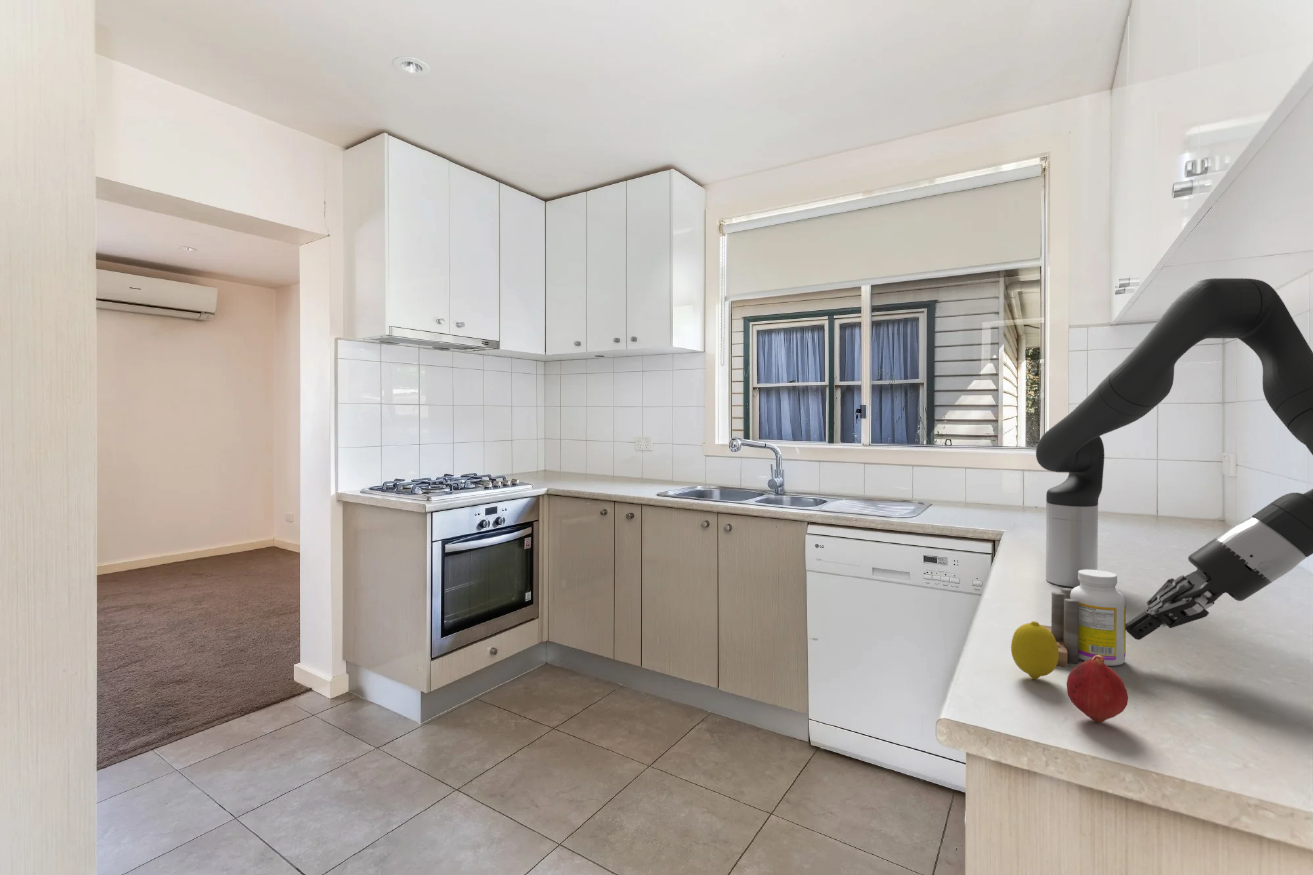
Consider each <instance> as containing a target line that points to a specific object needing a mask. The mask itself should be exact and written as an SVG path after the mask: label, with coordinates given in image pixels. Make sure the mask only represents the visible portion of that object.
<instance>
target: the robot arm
mask: <svg viewBox="0 0 1313 875" xmlns="http://www.w3.org/2000/svg"><path fill="white" fill-rule="evenodd" d="M1206 339H1238V340H1239V341H1241V342H1242V343H1244V344H1245V345H1246V346H1248V347H1249V349H1251V350H1252V351H1253V352H1254V353H1255V354H1256V356H1257V357H1258V359H1259V360H1260V362H1261V366H1262V392H1263V395H1264V398H1265V400H1266V402H1267V404H1268V406H1269V407H1270V408H1271V410H1272V411H1273V412H1274V414H1275V415H1276V416H1277V417H1278V419H1279V420H1280V421H1281V422H1282V424H1283V425H1284V426H1285V427H1286V428H1287V430H1288V431H1289V432H1290V434H1291V435H1292V436H1293V437H1295V439H1296V440H1297V441H1298V442H1300V443H1301V444H1303V445H1305V447H1306V448H1307V449H1308V451H1309V452H1310V454H1311V455H1312V456H1313V350H1312V349H1311V347H1310V345H1309V343H1308V342H1307V340H1306V339H1305V337H1304V335H1303V333H1302V332H1301V330H1300V328H1299V327H1298V325H1297V324H1296V322H1295V320H1294V319H1293V317H1292V314H1291V313H1290V311H1289V310H1288V308H1287V306H1286V304H1285V302H1284V301H1283V299H1282V298H1281V297H1280V295H1279V294H1278V292H1277V291H1276V290H1275V289H1274V288H1273V287H1272V286H1271V285H1270V284H1269V283H1268V282H1266V281H1264V280H1261V279H1256V278H1248V277H1247V278H1244V277H1243V278H1242V277H1241V278H1240V277H1239V278H1238V277H1235V278H1234V277H1233V278H1231V277H1230V278H1229V277H1228V278H1227V277H1226V278H1225V277H1223V278H1221V277H1220V278H1217V277H1216V278H1215V277H1214V278H1213V277H1212V278H1206V279H1202V280H1201V279H1200V280H1198V281H1196V282H1193V283H1191V284H1190V285H1188V286H1187V287H1186V288H1184V290H1183V291H1181V292H1180V294H1178V296H1177V297H1175V299H1174V301H1173V302H1172V303H1171V304H1170V305H1169V307H1168V308H1167V309H1166V310H1165V312H1164V313H1163V314H1162V316H1161V317H1160V318H1159V319H1158V321H1157V322H1156V323H1155V324H1154V326H1153V327H1152V328H1151V330H1150V331H1149V332H1148V333H1147V335H1145V337H1144V338H1143V339H1142V340H1141V341H1140V342H1139V343H1138V345H1136V347H1135V348H1133V350H1132V351H1131V352H1130V353H1129V354H1128V355H1127V356H1126V357H1125V359H1124V360H1122V361H1121V363H1119V364H1118V365H1116V367H1115V368H1114V369H1113V370H1111V372H1110V373H1109V374H1108V375H1107V376H1106V377H1105V378H1104V379H1103V380H1102V381H1101V382H1100V383H1099V384H1098V385H1097V386H1096V388H1094V390H1093V391H1092V392H1091V393H1089V395H1087V397H1086V398H1084V399H1083V400H1082V401H1081V402H1080V403H1079V404H1078V405H1077V406H1076V407H1075V408H1074V409H1072V411H1071V412H1069V414H1067V415H1066V416H1064V417H1063V418H1062V419H1061V420H1060V421H1058V422H1057V423H1056V424H1054V425H1053V426H1052V427H1051V428H1050V429H1048V430H1047V431H1046V432H1045V433H1044V434H1043V435H1042V436H1041V438H1040V439H1039V441H1038V444H1037V445H1036V450H1035V458H1036V461H1037V463H1038V465H1039V466H1040V467H1042V468H1043V469H1044V470H1047V471H1049V472H1054V473H1068V476H1067V478H1065V479H1064V481H1063V482H1062V483H1060V484H1057V485H1056V486H1053V487H1050V488H1049V489H1047V491H1046V497H1045V499H1046V500H1045V502H1046V504H1045V506H1046V508H1045V510H1046V514H1045V515H1046V516H1045V518H1046V519H1045V520H1046V522H1045V526H1046V527H1045V580H1046V582H1048V583H1051V584H1054V585H1057V586H1063V587H1067V588H1075V587H1077V586H1080V582H1079V579H1078V571H1079V570H1098V560H1099V558H1098V557H1099V556H1098V555H1099V554H1098V553H1099V552H1098V550H1099V549H1098V548H1099V544H1098V543H1099V498H1100V497H1101V496H1100V495H1101V493H1102V489H1103V481H1104V470H1105V469H1104V466H1105V445H1104V442H1103V439H1102V438H1101V436H1104V435H1105V434H1108V433H1111V432H1113V431H1116V430H1118V429H1121V428H1123V427H1125V426H1129V425H1131V424H1132V423H1134V422H1136V421H1138V420H1140V419H1141V418H1143V417H1145V415H1147V414H1148V413H1150V412H1151V411H1152V410H1153V409H1154V408H1155V407H1156V406H1158V405H1159V404H1160V403H1161V402H1162V401H1163V400H1164V399H1165V398H1167V397H1168V395H1169V394H1170V392H1171V390H1172V387H1173V385H1174V377H1175V367H1176V366H1175V365H1176V363H1177V362H1178V361H1179V359H1180V358H1181V357H1182V356H1183V355H1185V353H1187V352H1188V351H1189V350H1190V349H1191V348H1192V347H1194V346H1196V345H1197V344H1198V343H1199V342H1202V341H1204V340H1206ZM1312 555H1313V488H1312V489H1310V490H1309V491H1306V492H1304V493H1302V492H1289V493H1287V494H1284V495H1281V496H1280V497H1278V498H1277V499H1275V500H1273V501H1272V502H1271V503H1269V504H1267V505H1266V506H1264V507H1263V508H1261V509H1260V510H1258V511H1257V512H1256V513H1254V514H1253V515H1252V516H1249V517H1248V518H1246V519H1244V520H1242V521H1239V523H1236V524H1234V525H1233V526H1231V527H1230V528H1227V529H1226V530H1225V531H1224V532H1222V533H1220V534H1219V535H1218V536H1216V537H1215V538H1213V539H1211V540H1210V541H1208V542H1207V543H1206V544H1205V545H1202V546H1201V547H1200V548H1199V549H1197V550H1196V551H1194V552H1193V553H1192V554H1189V556H1187V559H1188V561H1189V563H1191V565H1193V566H1194V567H1195V568H1196V570H1195V571H1193V572H1191V573H1188V574H1187V575H1180V576H1178V577H1176V578H1175V579H1174V578H1169V579H1167V580H1166V582H1165V583H1164V584H1163V585H1162V586H1161V587H1160V588H1159V589H1158V590H1157V591H1155V593H1154V594H1153V595H1152V597H1151V598H1150V599H1148V600H1147V602H1146V604H1147V606H1146V607H1145V608H1144V611H1143V612H1141V613H1140V614H1138V615H1137V616H1135V617H1133V618H1132V619H1130V620H1129V621H1128V622H1126V632H1127V633H1128V634H1129V635H1130V636H1131V637H1133V639H1134V640H1136V641H1140V640H1142V639H1144V638H1145V637H1147V636H1148V635H1150V634H1151V633H1153V632H1154V631H1156V630H1157V629H1159V628H1161V627H1162V628H1165V627H1168V628H1169V629H1172V628H1173V629H1174V628H1176V627H1178V626H1181V625H1184V624H1188V623H1191V622H1194V621H1197V620H1200V619H1204V618H1207V617H1208V616H1209V614H1210V612H1209V611H1208V610H1207V609H1209V608H1211V607H1213V605H1215V601H1217V600H1218V599H1220V597H1222V596H1223V594H1225V593H1226V594H1227V595H1229V597H1231V598H1232V599H1234V600H1235V601H1237V602H1242V601H1244V600H1247V599H1248V598H1250V596H1252V595H1254V594H1257V592H1259V591H1261V590H1262V589H1264V588H1265V587H1267V586H1268V585H1270V584H1272V583H1273V582H1275V581H1277V580H1278V579H1279V578H1281V577H1283V576H1284V575H1286V574H1287V573H1289V572H1291V571H1292V570H1293V569H1294V568H1296V567H1297V566H1298V565H1299V564H1300V563H1302V561H1304V560H1305V559H1307V558H1309V557H1310V556H1312Z"/></svg>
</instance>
